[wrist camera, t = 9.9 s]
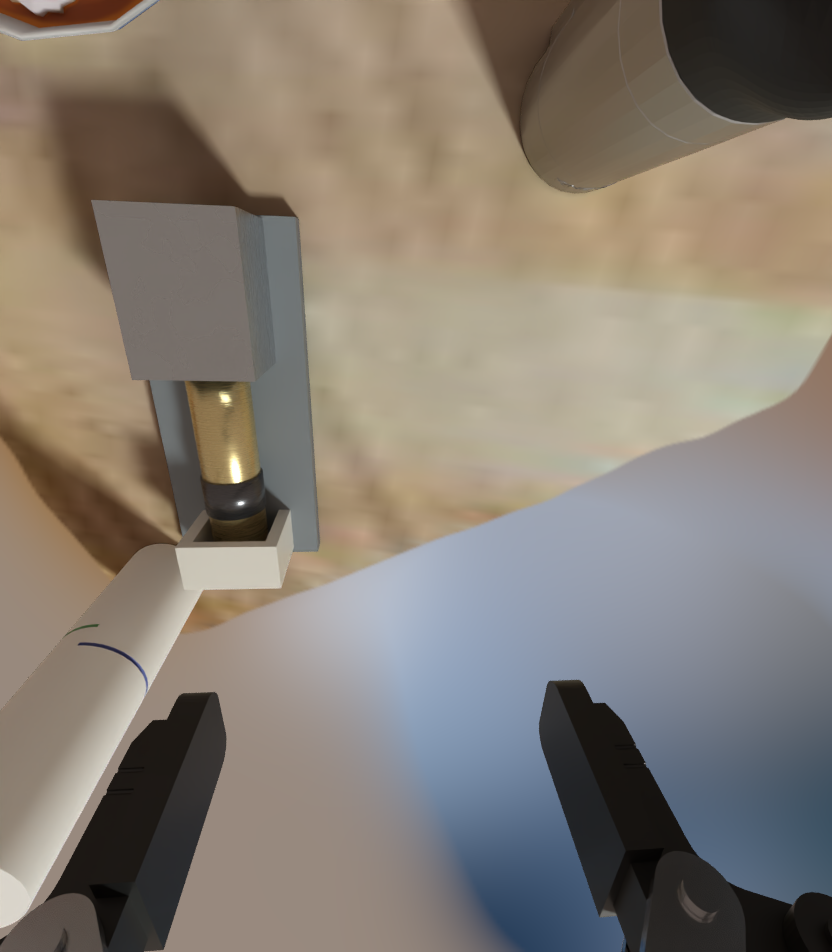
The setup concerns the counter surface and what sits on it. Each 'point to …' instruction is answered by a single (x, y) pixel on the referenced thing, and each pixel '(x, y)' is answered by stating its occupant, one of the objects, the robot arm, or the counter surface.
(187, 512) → the board
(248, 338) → the sleeve
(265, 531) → the tube
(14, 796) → the cylindrical container
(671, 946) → the robot arm
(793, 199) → the counter surface
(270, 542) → the socket
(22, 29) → the ramen bowl
